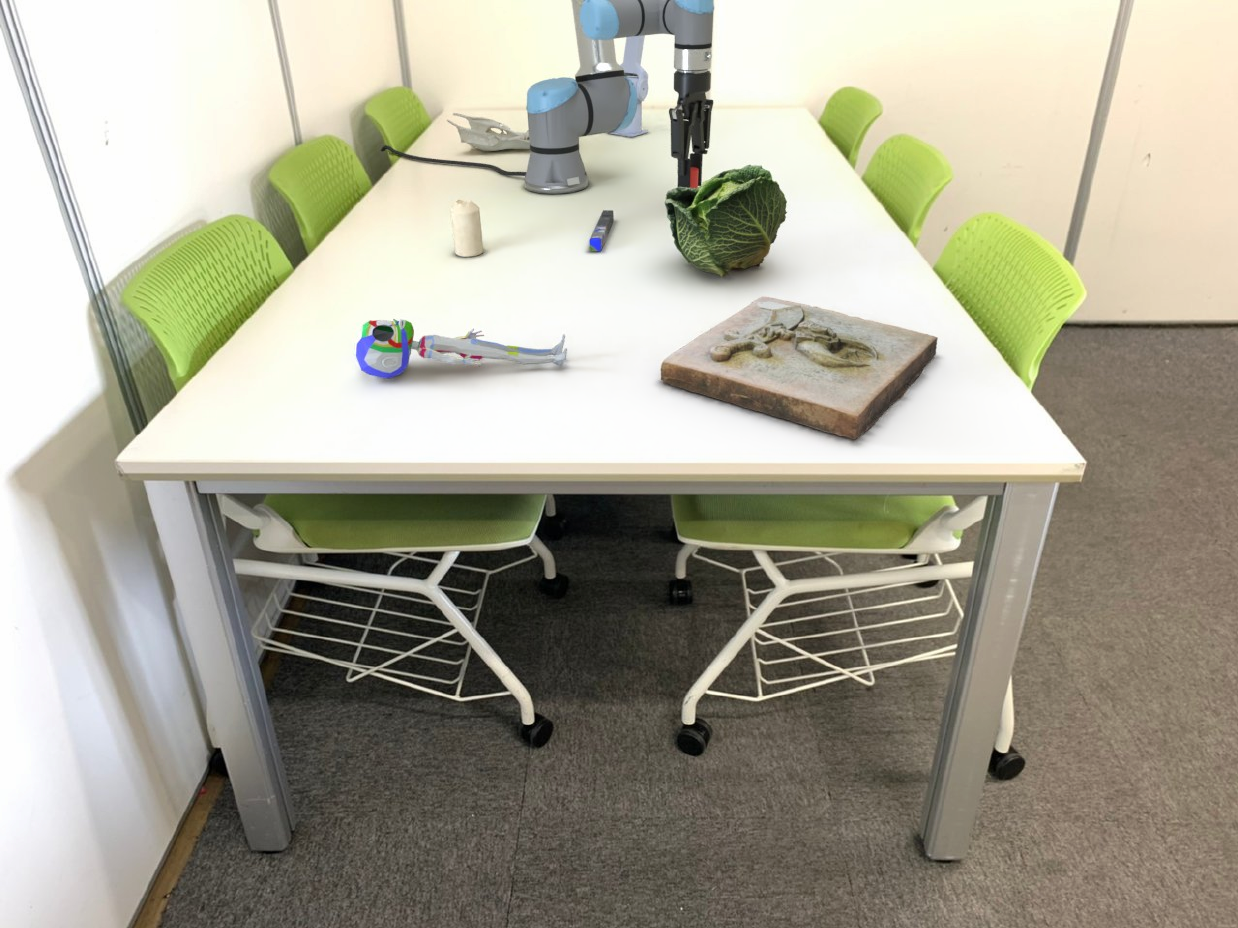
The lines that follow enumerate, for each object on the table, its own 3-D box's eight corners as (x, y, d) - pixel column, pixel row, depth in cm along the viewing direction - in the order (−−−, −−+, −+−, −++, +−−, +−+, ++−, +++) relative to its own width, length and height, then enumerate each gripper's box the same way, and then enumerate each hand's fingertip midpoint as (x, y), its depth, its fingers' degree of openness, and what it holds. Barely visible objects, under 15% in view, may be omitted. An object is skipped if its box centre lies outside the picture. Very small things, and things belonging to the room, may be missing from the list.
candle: (488, 249, 176) (483, 198, 171) (475, 258, 172) (470, 206, 167) (463, 246, 178) (457, 196, 173) (450, 255, 174) (443, 204, 168)
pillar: (613, 210, 190) (600, 241, 173) (613, 220, 191) (600, 251, 174) (603, 210, 190) (589, 240, 173) (603, 220, 191) (589, 251, 174)
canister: (683, 185, 196) (683, 166, 193) (700, 187, 194) (700, 167, 192) (678, 190, 193) (678, 170, 190) (694, 191, 191) (695, 172, 189)
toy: (569, 347, 126) (349, 329, 122) (563, 400, 131) (350, 385, 126) (565, 318, 135) (359, 301, 130) (559, 369, 139) (360, 354, 134)
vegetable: (694, 294, 173) (643, 202, 166) (775, 239, 175) (728, 145, 167) (734, 307, 155) (678, 205, 147) (824, 245, 156) (773, 141, 149)
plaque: (865, 393, 108) (658, 335, 123) (857, 444, 112) (657, 381, 127) (948, 314, 129) (763, 273, 144) (939, 359, 133) (759, 314, 148)
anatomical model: (457, 110, 251) (543, 108, 247) (461, 144, 256) (546, 143, 252) (440, 121, 238) (531, 120, 235) (445, 157, 243) (534, 156, 240)
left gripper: (685, 78, 173) (682, 199, 186) (730, 66, 185) (724, 181, 197) (653, 74, 177) (652, 193, 190) (699, 63, 189) (696, 176, 201)
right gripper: (589, 62, 229) (590, 118, 236) (624, 55, 238) (625, 109, 245) (568, 59, 232) (570, 115, 240) (604, 53, 242) (605, 106, 249)
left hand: (689, 187), depth 193 cm, fingers closed on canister, 4 cm apart
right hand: (596, 111), depth 243 cm, fingers open, 7 cm apart
